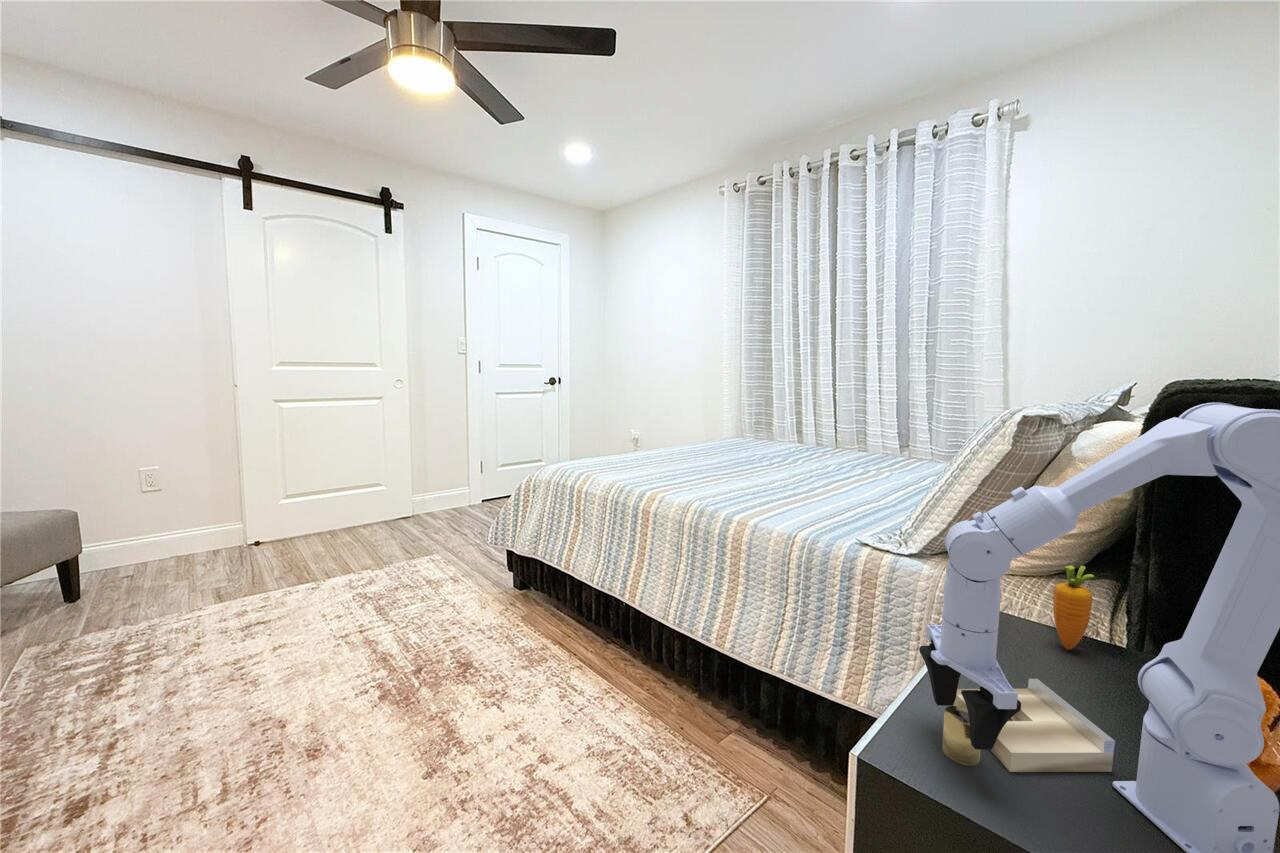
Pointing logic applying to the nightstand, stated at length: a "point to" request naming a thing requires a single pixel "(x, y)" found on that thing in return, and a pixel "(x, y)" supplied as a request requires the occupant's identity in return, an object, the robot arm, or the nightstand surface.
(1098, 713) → the nightstand surface
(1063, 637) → the carrot
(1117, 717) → the nightstand surface
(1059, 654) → the nightstand surface
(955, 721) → the bushing
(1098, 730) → the jig
